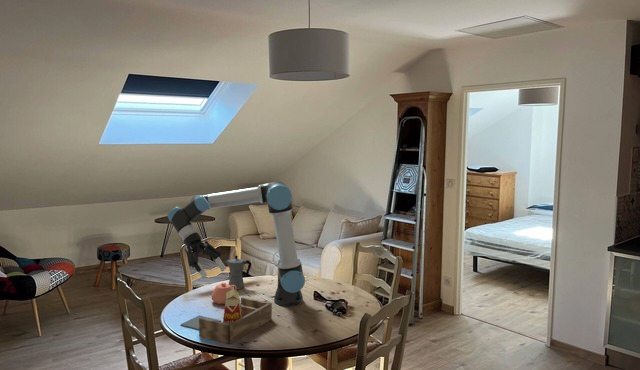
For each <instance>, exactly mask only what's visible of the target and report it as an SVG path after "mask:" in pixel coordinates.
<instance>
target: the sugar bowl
mask: <svg viewBox="0 0 640 370" xmlns="http://www.w3.org/2000/svg"><path fill="white" fill-rule="evenodd" d="M233 286H234V287H235V289H234V290H235V291H237V290H238V289H237V287H236V286H235V285H231V286H230V285H229V283H227V282H221V283H220V284H217V285H216V286H215V287H214V289H213V291H212V293H211V300H212V302H213V303H214V304H217V305H219V306H221V305H225V303H226V293H227V292H229V291H231V290H233V288H232V287H233ZM237 292H238V291H237Z"/></svg>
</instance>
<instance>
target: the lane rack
mask: <svg viewBox="0 0 640 370" xmlns="http://www.w3.org/2000/svg"><path fill="white" fill-rule="evenodd" d="M240 303H241V311H242V318H240V319H238V320H236V321H234V322H233V323H231V324H227V323H223V321H221V322H219V321H214V320H210V319H206V318H202V317H201V318H199V330H198V336H199V337H201V338H205V339H209V340H211V341H212V340H213V341H217V342H221V343H224V344H229V345H231V344H233V343H235V342H236V341H238V340H240V339H241V338H243V337H245V336H246V335H248V334H249V333H251V332H253V331H254V330H256V329H258V328H260V327H261V326H263V325H264V324H266V323H268V322H269V321H271V320H272V317H273V316H272V315H273V314H272V313H273V312H272V311H273V308H272V307H273V304H272V302H268V301H263V300H259V299H254V298H249V297H244V296H242V297H240Z"/></svg>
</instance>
